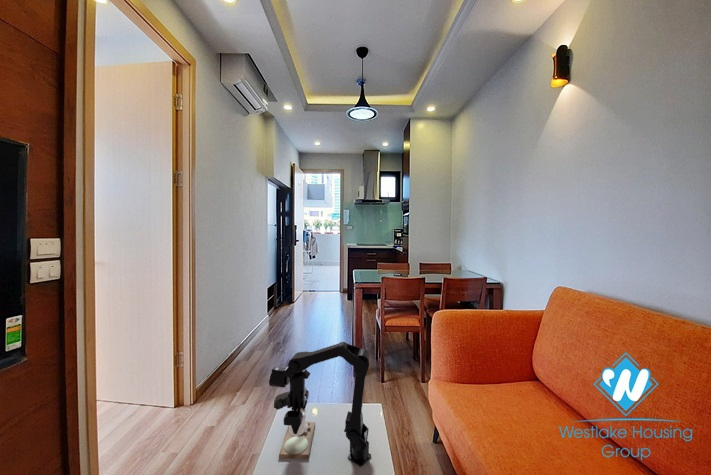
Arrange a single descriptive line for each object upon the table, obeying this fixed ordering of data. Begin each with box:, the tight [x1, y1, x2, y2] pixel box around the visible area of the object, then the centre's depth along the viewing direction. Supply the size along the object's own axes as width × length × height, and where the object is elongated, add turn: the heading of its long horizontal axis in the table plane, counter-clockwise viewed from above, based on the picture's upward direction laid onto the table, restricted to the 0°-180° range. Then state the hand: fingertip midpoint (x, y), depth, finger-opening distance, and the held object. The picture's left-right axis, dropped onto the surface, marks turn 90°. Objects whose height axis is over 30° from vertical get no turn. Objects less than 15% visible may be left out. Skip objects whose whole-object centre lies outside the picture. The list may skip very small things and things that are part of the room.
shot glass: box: [288, 408, 307, 436], centre depth 110 cm, size 7×7×7 cm
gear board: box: [278, 421, 316, 460], centre depth 114 cm, size 11×18×4 cm, turn 0°
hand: (296, 427), depth 110 cm, fingers closed on shot glass, 6 cm apart
